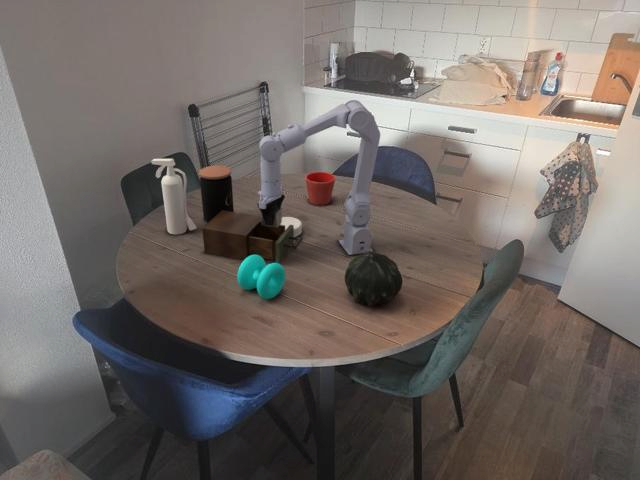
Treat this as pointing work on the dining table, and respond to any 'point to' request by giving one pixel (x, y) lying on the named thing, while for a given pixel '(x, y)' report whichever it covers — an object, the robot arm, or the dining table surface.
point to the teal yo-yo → (261, 276)
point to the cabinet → (229, 234)
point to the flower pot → (320, 187)
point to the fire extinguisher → (174, 197)
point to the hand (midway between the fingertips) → (271, 221)
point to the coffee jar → (216, 191)
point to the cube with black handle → (275, 218)
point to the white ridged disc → (292, 221)
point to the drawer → (272, 241)
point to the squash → (373, 278)
